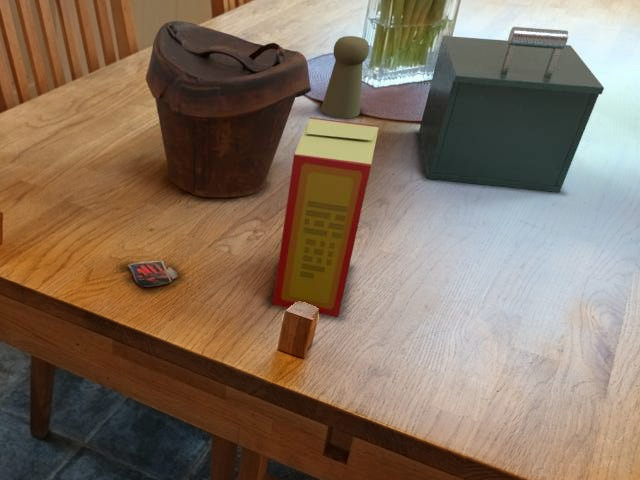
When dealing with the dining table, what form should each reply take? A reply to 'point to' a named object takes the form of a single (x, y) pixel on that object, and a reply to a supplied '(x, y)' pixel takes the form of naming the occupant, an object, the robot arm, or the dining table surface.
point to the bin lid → (521, 61)
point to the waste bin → (500, 132)
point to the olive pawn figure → (346, 78)
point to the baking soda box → (323, 212)
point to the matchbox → (152, 273)
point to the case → (221, 106)
